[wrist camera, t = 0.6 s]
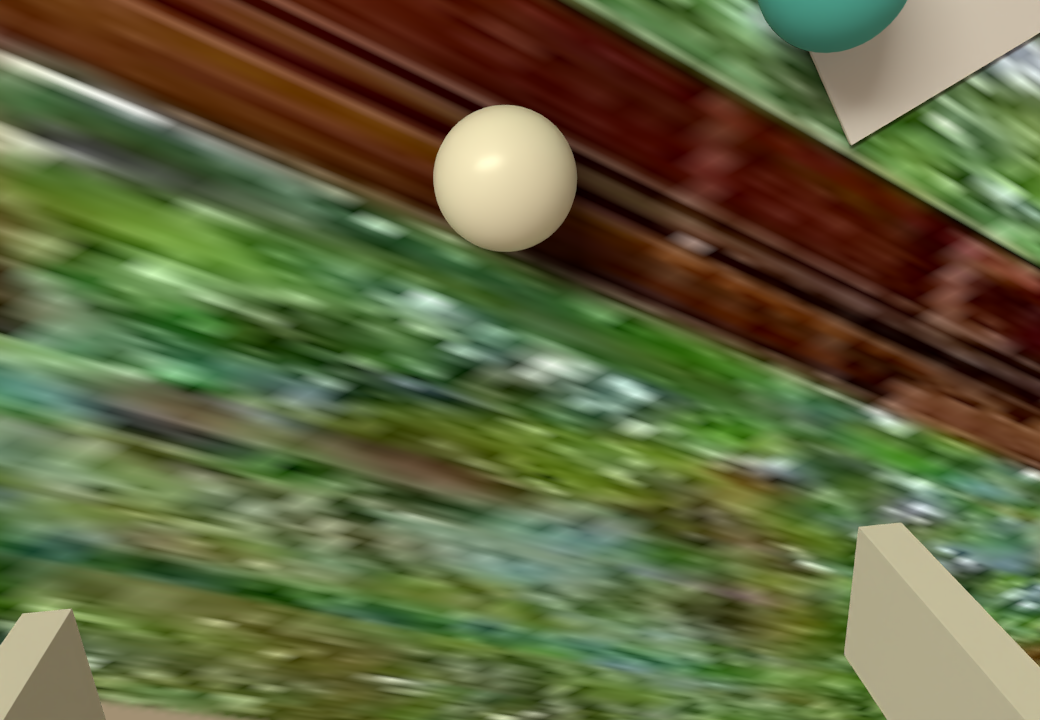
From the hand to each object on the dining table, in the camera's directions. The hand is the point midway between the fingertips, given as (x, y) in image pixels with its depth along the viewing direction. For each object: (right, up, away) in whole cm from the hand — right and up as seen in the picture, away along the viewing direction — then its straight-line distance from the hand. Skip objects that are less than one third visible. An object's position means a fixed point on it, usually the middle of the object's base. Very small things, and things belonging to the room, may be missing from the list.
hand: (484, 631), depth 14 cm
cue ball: (0, +11, +18) cm, 21 cm away
